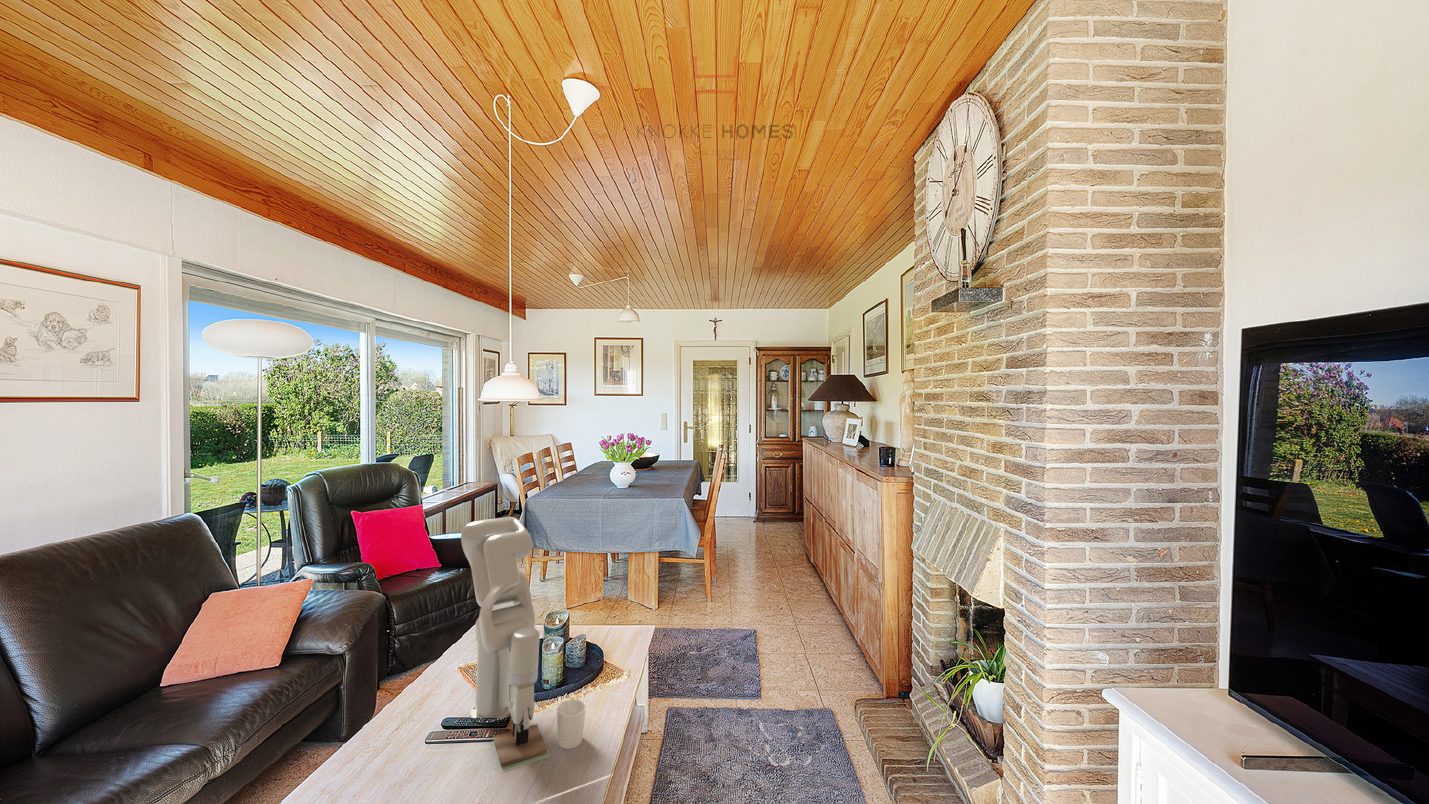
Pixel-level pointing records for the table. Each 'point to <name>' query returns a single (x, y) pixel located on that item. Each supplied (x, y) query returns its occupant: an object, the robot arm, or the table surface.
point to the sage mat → (521, 762)
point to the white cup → (570, 723)
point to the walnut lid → (516, 753)
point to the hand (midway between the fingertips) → (520, 738)
